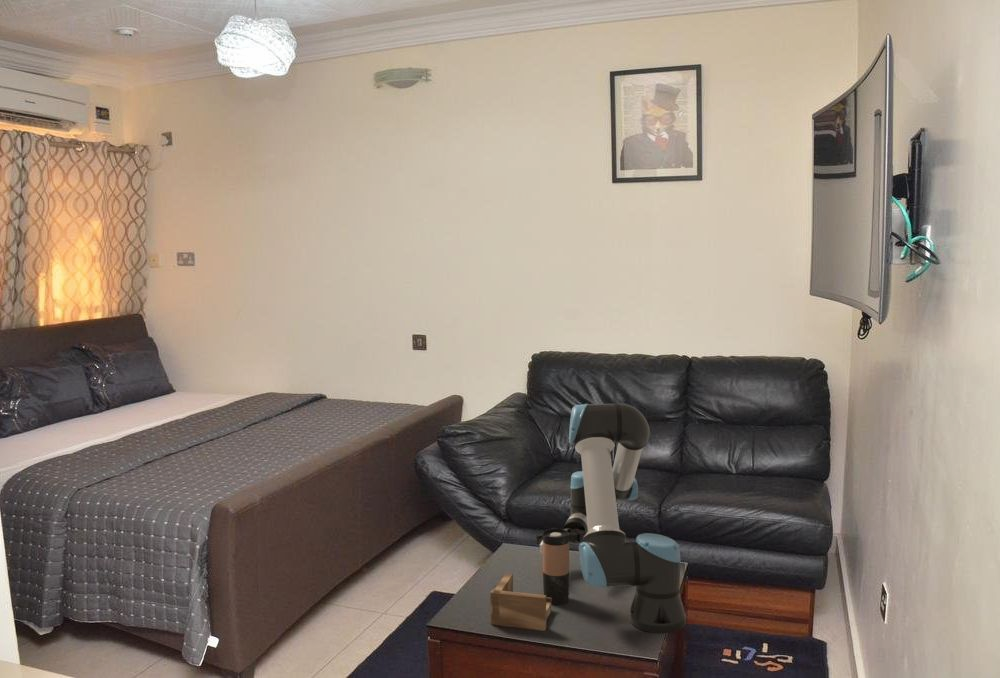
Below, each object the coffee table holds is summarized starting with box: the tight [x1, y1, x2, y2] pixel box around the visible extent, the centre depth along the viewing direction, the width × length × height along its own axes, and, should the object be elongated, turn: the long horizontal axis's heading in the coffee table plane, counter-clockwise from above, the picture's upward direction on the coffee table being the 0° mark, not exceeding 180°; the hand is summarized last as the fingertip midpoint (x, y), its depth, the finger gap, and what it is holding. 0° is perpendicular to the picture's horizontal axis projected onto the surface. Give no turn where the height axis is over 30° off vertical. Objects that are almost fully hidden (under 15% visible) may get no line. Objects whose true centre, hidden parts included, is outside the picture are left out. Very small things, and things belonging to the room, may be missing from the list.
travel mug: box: [542, 528, 570, 606], centre depth 240 cm, size 8×8×20 cm
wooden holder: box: [489, 572, 552, 632], centre depth 230 cm, size 14×15×9 cm
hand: (562, 551), depth 249 cm, fingers open, 13 cm apart
